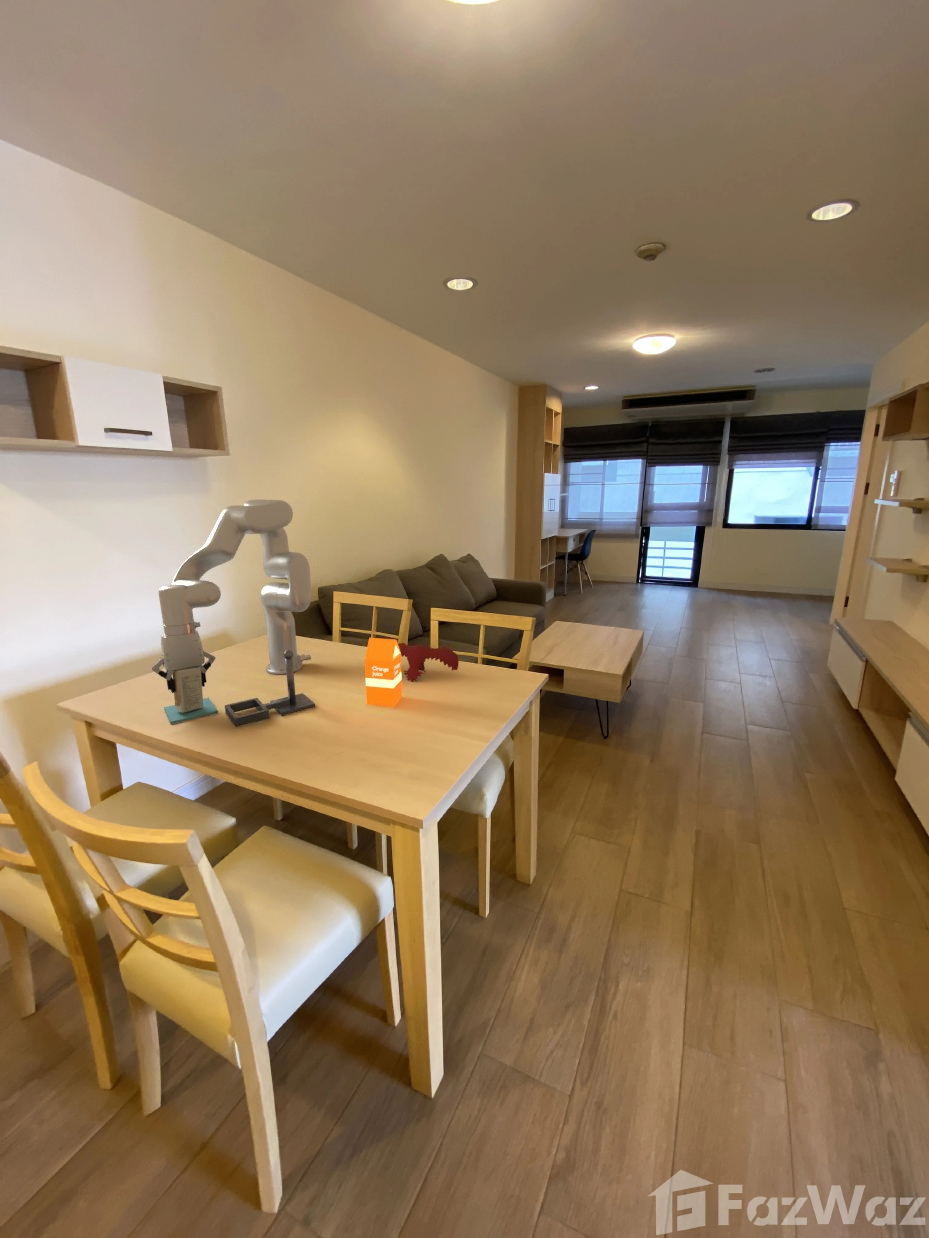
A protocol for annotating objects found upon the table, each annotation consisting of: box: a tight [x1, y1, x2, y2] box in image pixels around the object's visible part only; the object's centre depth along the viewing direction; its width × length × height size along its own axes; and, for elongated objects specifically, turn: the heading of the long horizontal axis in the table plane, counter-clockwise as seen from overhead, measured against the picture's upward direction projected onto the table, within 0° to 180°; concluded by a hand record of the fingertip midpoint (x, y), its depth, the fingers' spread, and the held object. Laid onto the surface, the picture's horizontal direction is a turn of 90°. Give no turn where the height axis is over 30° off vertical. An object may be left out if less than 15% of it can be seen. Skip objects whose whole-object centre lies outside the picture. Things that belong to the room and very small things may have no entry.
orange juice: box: [364, 637, 403, 708], centre depth 152 cm, size 8×9×20 cm
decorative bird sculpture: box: [397, 642, 460, 682], centre depth 175 cm, size 28×9×15 cm
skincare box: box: [172, 666, 204, 713], centre depth 143 cm, size 6×4×12 cm
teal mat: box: [163, 696, 219, 725], centre depth 146 cm, size 12×12×1 cm
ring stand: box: [224, 650, 316, 728], centre depth 144 cm, size 22×11×18 cm, turn 128°
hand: (187, 687), depth 144 cm, fingers closed on skincare box, 7 cm apart
